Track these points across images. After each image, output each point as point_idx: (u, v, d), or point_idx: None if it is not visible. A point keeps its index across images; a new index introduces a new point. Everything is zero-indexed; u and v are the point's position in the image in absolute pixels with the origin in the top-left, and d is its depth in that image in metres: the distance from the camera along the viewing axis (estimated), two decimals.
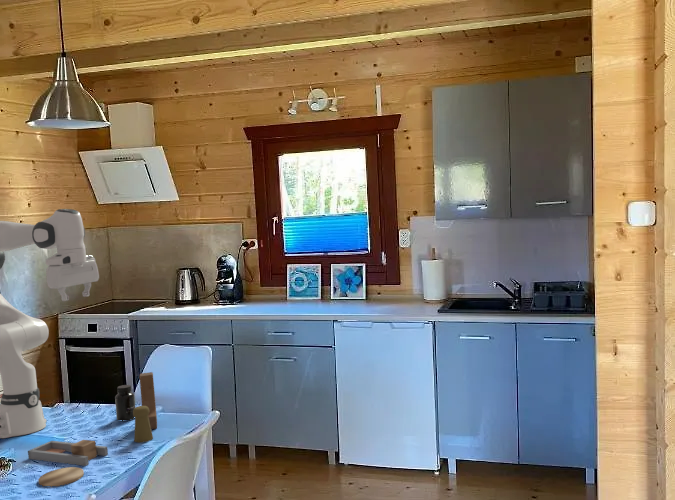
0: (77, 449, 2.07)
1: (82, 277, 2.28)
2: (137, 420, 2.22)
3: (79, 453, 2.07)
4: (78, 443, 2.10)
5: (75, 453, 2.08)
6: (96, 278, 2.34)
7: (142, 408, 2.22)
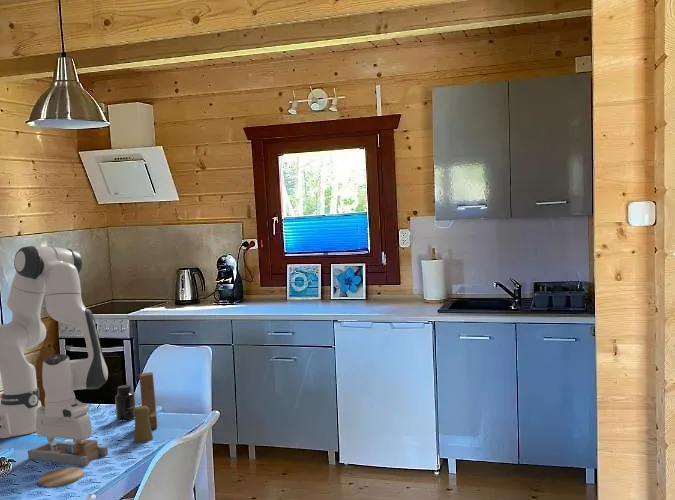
0: (79, 449, 2.07)
1: None
2: (137, 420, 2.22)
3: (81, 453, 2.07)
4: (80, 443, 2.09)
5: (77, 453, 2.07)
6: None
7: (142, 408, 2.22)
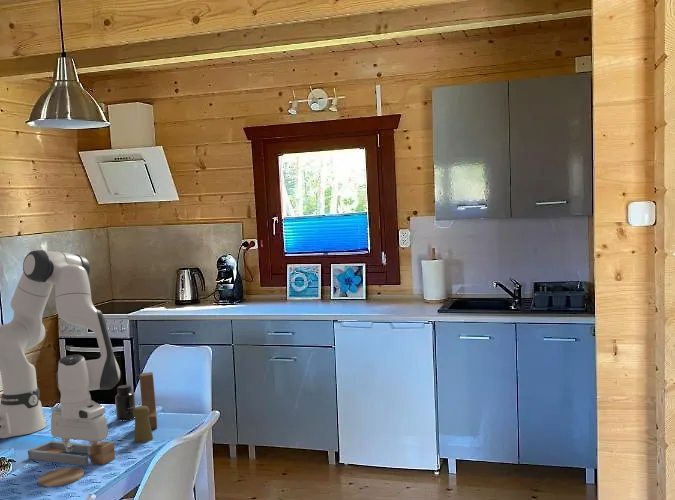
0: (95, 451, 2.04)
1: None
2: (137, 420, 2.22)
3: (97, 455, 2.04)
4: (96, 444, 2.07)
5: (93, 455, 2.05)
6: None
7: (142, 408, 2.22)
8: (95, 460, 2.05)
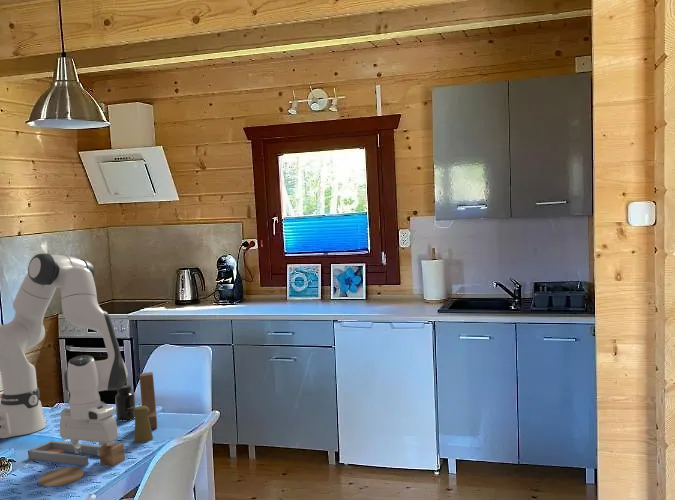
0: (105, 452, 2.03)
1: None
2: (137, 420, 2.22)
3: (107, 456, 2.02)
4: (106, 445, 2.05)
5: (103, 456, 2.03)
6: None
7: (142, 408, 2.22)
8: (105, 461, 2.03)
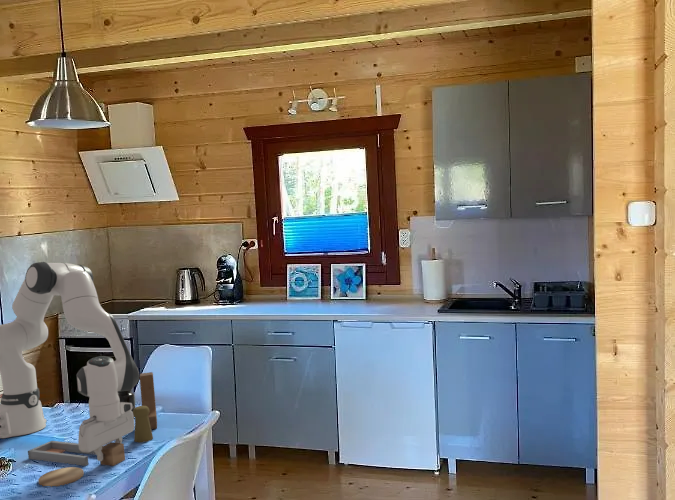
0: (105, 452, 2.03)
1: None
2: (137, 420, 2.22)
3: (108, 456, 2.02)
4: (106, 445, 2.05)
5: None
6: None
7: (142, 408, 2.22)
8: (105, 461, 2.03)
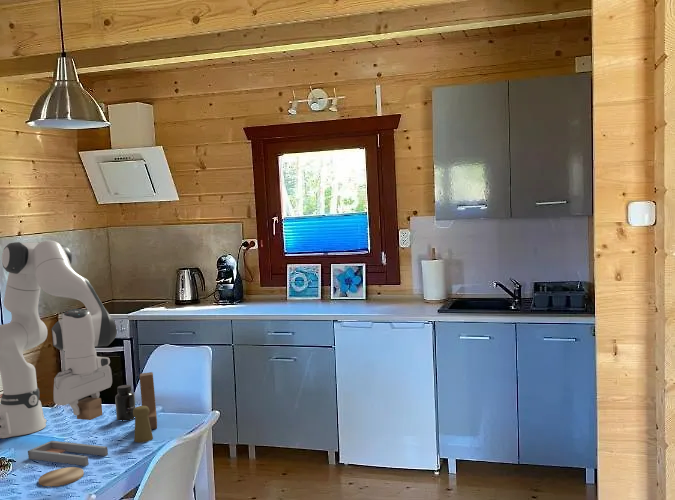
0: (82, 406, 1.97)
1: None
2: (137, 420, 2.22)
3: (84, 410, 1.97)
4: (83, 400, 2.00)
5: None
6: None
7: (142, 408, 2.22)
8: (81, 416, 1.98)
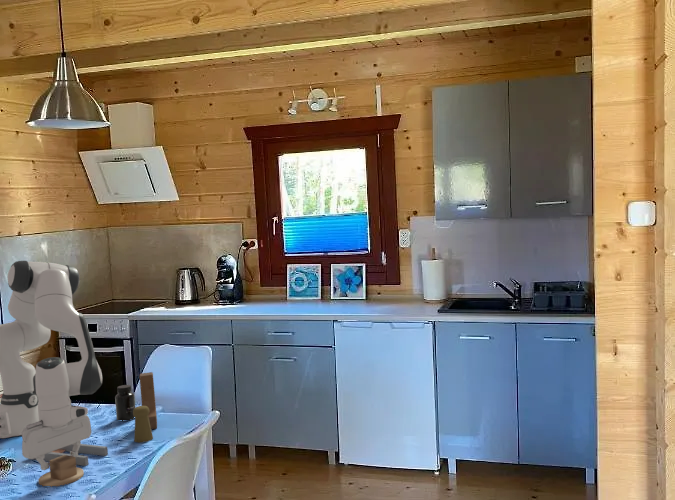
0: (54, 466, 1.92)
1: None
2: (137, 420, 2.22)
3: (56, 470, 1.92)
4: (57, 458, 1.95)
5: (53, 469, 1.92)
6: None
7: (142, 408, 2.22)
8: (54, 475, 1.92)
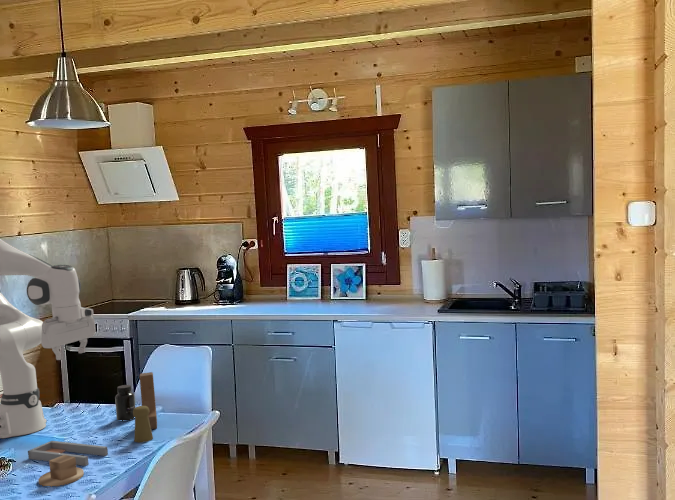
0: (54, 466, 1.92)
1: None
2: (137, 420, 2.22)
3: (56, 470, 1.92)
4: (57, 458, 1.94)
5: (53, 469, 1.92)
6: None
7: (142, 408, 2.22)
8: (54, 475, 1.92)
